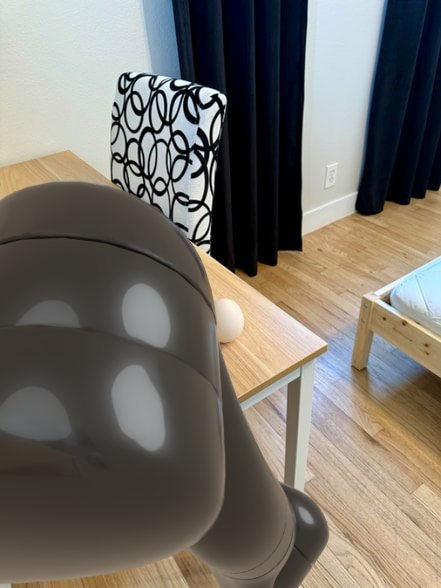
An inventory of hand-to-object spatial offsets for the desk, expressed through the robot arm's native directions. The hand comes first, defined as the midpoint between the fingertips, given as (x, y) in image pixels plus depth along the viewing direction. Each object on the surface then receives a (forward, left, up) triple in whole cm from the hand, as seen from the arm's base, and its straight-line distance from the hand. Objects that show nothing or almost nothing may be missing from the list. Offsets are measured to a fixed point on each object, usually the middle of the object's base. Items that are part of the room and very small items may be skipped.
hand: (71, 353), depth 56 cm
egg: (+23, -2, -8) cm, 24 cm away
